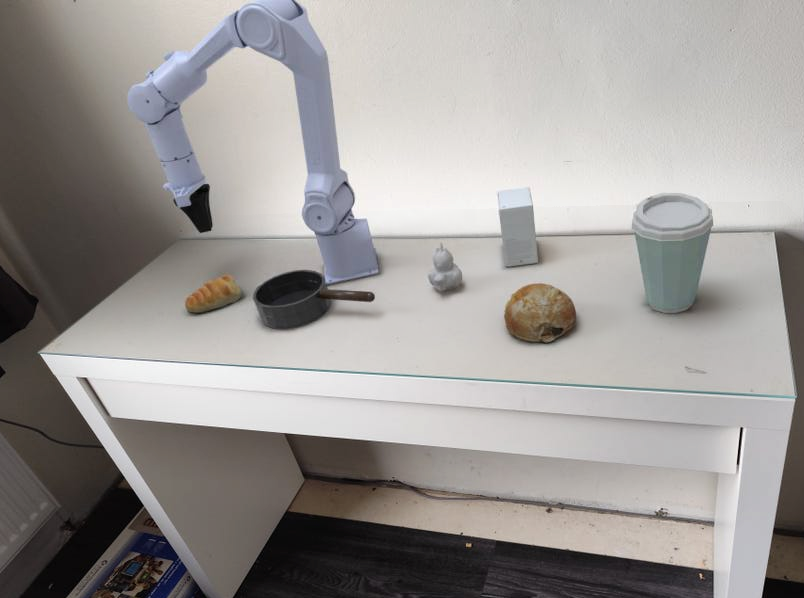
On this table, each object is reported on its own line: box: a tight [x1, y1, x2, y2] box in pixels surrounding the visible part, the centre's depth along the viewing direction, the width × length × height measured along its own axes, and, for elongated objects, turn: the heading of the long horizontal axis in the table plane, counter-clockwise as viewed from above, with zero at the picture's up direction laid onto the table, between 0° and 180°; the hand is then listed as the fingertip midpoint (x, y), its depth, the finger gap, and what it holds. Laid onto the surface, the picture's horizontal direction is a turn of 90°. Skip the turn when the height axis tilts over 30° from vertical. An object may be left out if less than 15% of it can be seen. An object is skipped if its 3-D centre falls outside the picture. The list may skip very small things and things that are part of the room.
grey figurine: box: [427, 242, 463, 291], centre depth 107 cm, size 5×7×8 cm
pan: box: [252, 269, 332, 330], centre depth 110 cm, size 12×12×4 cm
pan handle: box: [319, 288, 376, 303], centre depth 106 cm, size 10×2×2 cm, turn 71°
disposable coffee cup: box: [630, 192, 714, 314], centre depth 93 cm, size 11×11×15 cm
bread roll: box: [503, 282, 577, 344], centre depth 96 cm, size 10×10×8 cm
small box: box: [496, 186, 539, 268], centre depth 112 cm, size 8×6×10 cm
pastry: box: [184, 273, 243, 314], centre depth 116 cm, size 9×7×4 cm
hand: (206, 229), depth 120 cm, fingers closed
